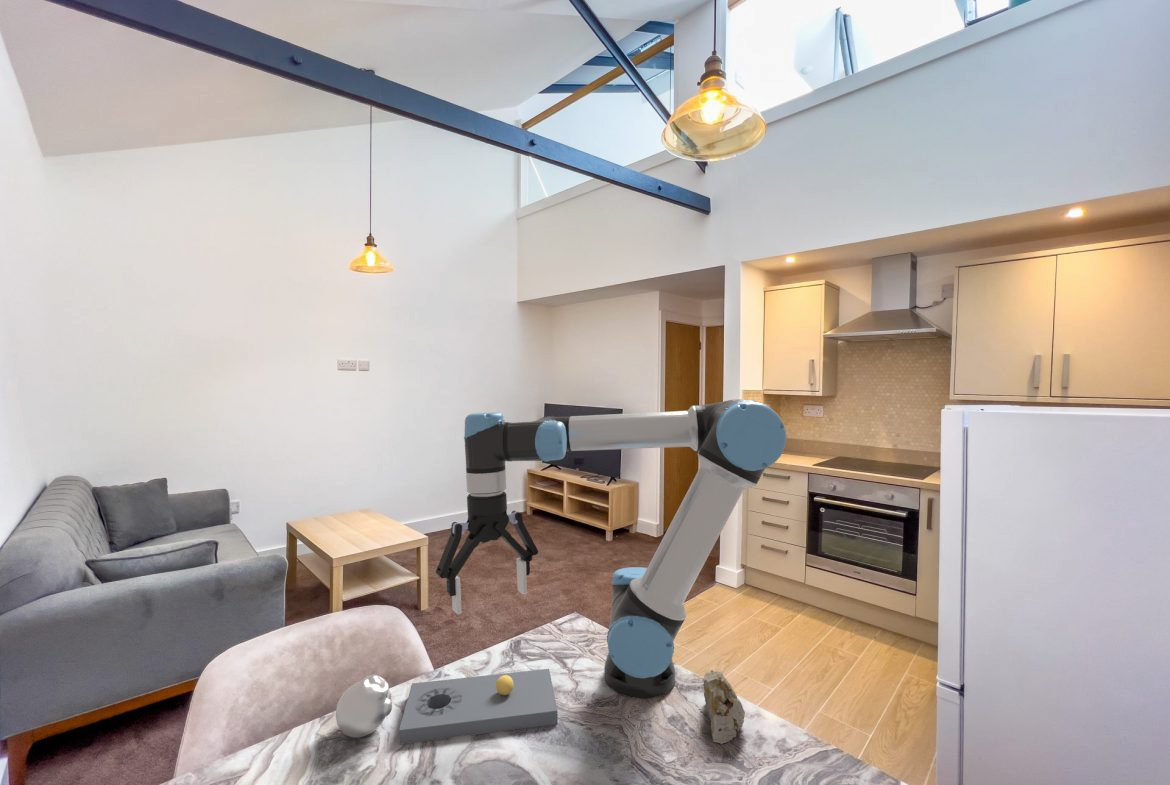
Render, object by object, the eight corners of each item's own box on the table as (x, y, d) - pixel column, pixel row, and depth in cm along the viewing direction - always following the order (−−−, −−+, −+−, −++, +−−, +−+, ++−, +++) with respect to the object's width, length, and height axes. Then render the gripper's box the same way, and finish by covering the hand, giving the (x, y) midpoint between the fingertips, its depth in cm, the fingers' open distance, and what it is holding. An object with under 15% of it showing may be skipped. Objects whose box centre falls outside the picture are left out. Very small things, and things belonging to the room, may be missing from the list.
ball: (514, 688, 99) (514, 671, 99) (512, 699, 96) (512, 681, 96) (497, 688, 99) (497, 671, 99) (494, 699, 96) (494, 681, 96)
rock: (752, 744, 85) (740, 678, 88) (713, 746, 86) (703, 681, 89) (742, 721, 97) (732, 664, 100) (707, 724, 97) (699, 667, 101)
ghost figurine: (372, 753, 85) (371, 695, 85) (324, 745, 87) (324, 688, 87) (402, 719, 94) (402, 666, 94) (358, 712, 96) (358, 660, 96)
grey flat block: (549, 680, 106) (549, 668, 106) (557, 723, 92) (557, 710, 92) (412, 695, 101) (411, 683, 101) (399, 744, 87) (399, 730, 87)
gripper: (534, 481, 106) (538, 579, 107) (415, 499, 92) (420, 613, 92) (552, 486, 100) (556, 590, 100) (428, 506, 86) (433, 628, 86)
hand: (491, 601), depth 96 cm, fingers open, 13 cm apart
